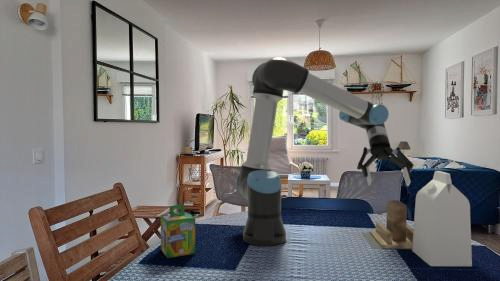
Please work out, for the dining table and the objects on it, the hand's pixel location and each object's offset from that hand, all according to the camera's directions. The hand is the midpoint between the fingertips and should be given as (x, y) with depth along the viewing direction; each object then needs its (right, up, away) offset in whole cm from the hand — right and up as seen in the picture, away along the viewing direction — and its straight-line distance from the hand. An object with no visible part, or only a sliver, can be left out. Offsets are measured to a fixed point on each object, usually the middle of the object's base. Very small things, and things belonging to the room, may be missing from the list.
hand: (389, 183), depth 129 cm
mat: (-1, -19, -7) cm, 20 cm away
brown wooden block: (-1, -18, -7) cm, 19 cm away
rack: (-1, -19, -7) cm, 20 cm away
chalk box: (-73, -20, -16) cm, 78 cm away
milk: (+6, -20, -23) cm, 31 cm away
